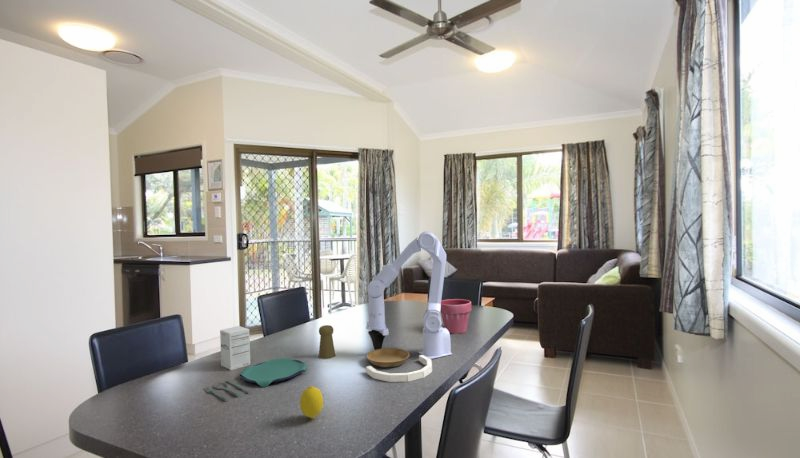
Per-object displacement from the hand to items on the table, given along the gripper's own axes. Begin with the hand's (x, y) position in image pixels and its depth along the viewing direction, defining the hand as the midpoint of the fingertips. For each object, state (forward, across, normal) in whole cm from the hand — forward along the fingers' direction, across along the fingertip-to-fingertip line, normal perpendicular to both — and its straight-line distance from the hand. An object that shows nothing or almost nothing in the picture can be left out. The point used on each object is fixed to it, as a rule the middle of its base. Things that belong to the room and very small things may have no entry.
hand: (377, 350), depth 146 cm
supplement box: (+2, -17, -46) cm, 49 cm away
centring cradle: (+2, +20, 0) cm, 20 cm away
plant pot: (+2, -11, +42) cm, 43 cm away
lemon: (+2, +35, -34) cm, 48 cm away
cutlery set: (+2, 0, -41) cm, 41 cm away
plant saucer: (+2, +8, 0) cm, 9 cm away
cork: (+2, -10, -16) cm, 19 cm away
